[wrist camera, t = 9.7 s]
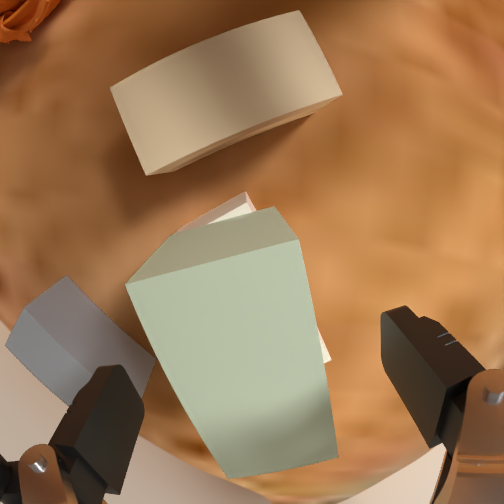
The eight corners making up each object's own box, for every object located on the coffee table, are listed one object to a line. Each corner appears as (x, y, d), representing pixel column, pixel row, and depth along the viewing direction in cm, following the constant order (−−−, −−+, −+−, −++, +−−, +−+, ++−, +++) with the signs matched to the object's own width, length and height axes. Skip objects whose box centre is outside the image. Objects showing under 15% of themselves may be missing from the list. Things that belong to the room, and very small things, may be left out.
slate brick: (43, 309, 18) (4, 345, 13) (67, 274, 17) (24, 307, 12) (125, 385, 19) (104, 433, 15) (157, 358, 19) (137, 409, 14)
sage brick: (170, 234, 11) (124, 284, 7) (274, 206, 11) (298, 239, 6) (230, 394, 14) (228, 478, 9) (313, 375, 13) (338, 457, 9)
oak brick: (174, 171, 16) (145, 175, 11) (146, 107, 15) (109, 87, 10) (313, 113, 15) (342, 94, 10) (283, 49, 14) (299, 10, 9)
